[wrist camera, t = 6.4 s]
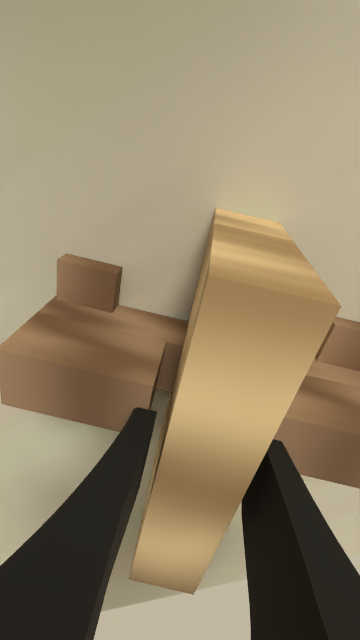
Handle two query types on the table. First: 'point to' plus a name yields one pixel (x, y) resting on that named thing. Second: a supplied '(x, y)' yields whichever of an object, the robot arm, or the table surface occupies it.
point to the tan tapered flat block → (228, 391)
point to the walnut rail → (165, 370)
